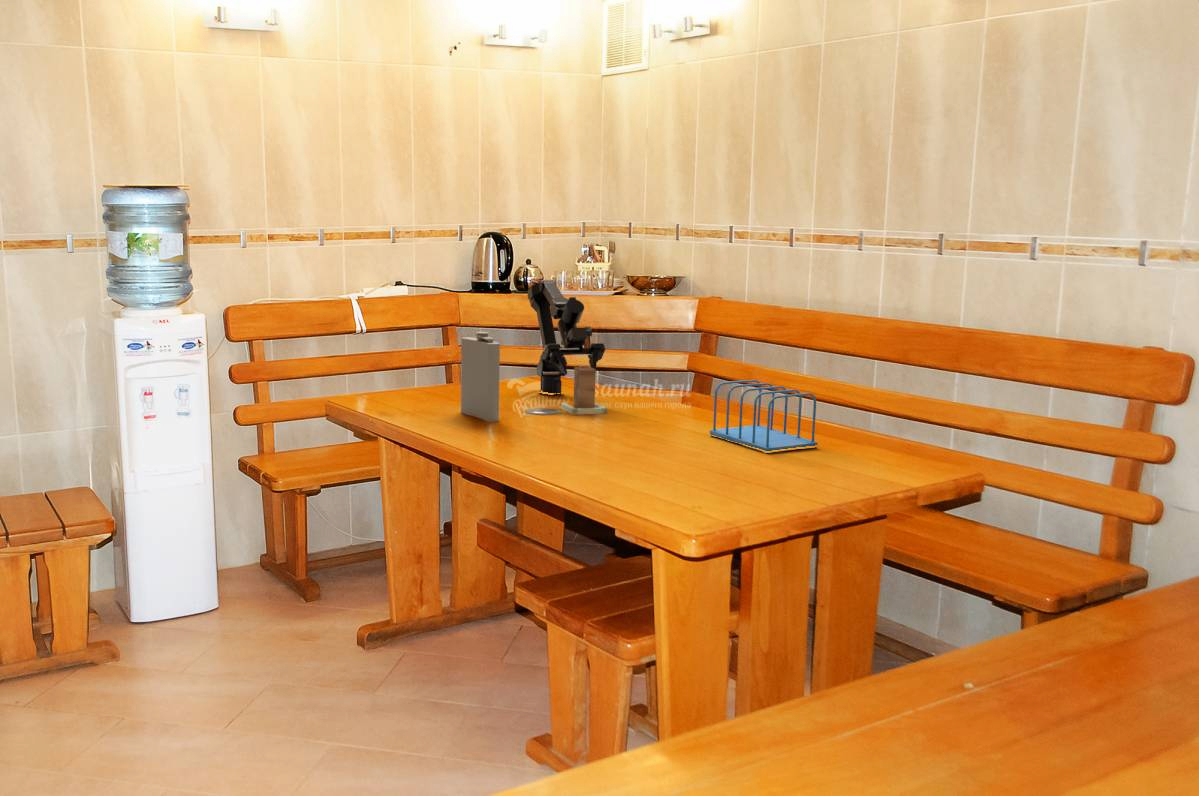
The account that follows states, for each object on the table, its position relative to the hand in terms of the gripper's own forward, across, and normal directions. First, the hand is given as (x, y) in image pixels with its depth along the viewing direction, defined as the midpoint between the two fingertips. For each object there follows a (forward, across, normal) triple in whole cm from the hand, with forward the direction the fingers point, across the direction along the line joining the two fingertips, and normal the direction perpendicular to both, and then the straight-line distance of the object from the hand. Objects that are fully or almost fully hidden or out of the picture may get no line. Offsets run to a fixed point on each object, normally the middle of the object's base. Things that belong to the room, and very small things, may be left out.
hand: (580, 373), depth 339 cm
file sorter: (+48, +33, -31) cm, 66 cm away
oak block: (+10, 0, +5) cm, 11 cm away
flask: (+11, -32, +5) cm, 35 cm away
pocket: (+11, 0, +5) cm, 12 cm away
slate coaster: (+10, -13, +6) cm, 18 cm away
